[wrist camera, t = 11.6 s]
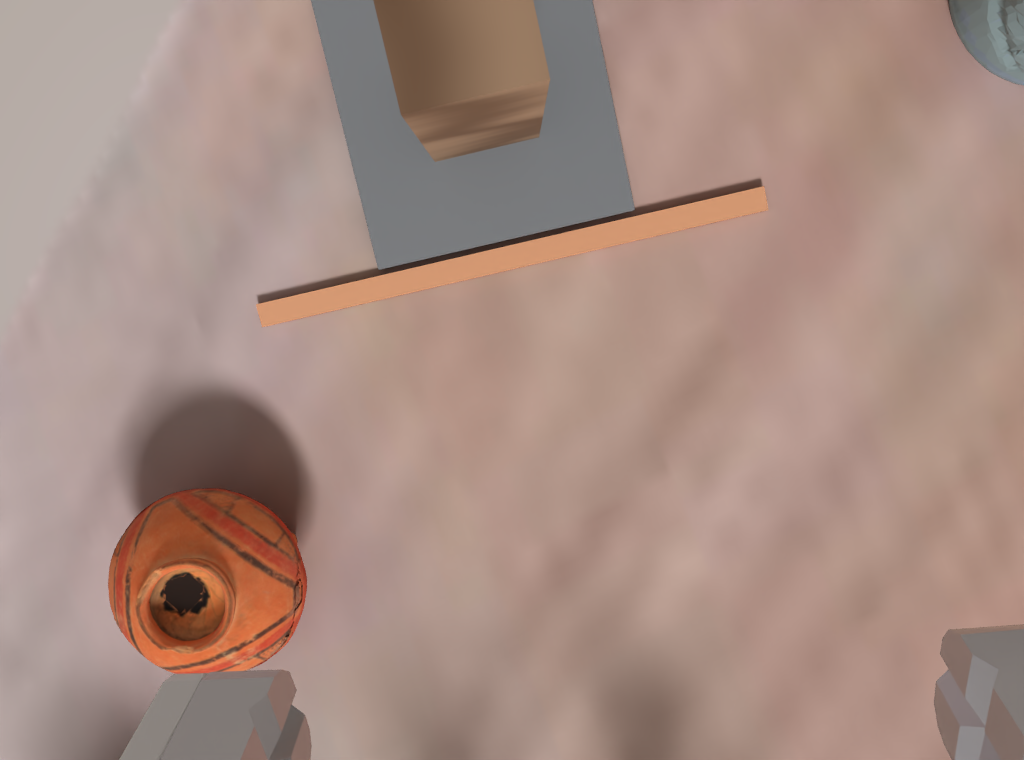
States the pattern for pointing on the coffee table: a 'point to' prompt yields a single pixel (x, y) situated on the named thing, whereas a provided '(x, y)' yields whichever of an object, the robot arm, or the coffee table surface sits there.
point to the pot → (207, 582)
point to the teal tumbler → (993, 34)
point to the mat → (485, 174)
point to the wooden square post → (466, 71)
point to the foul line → (513, 256)
